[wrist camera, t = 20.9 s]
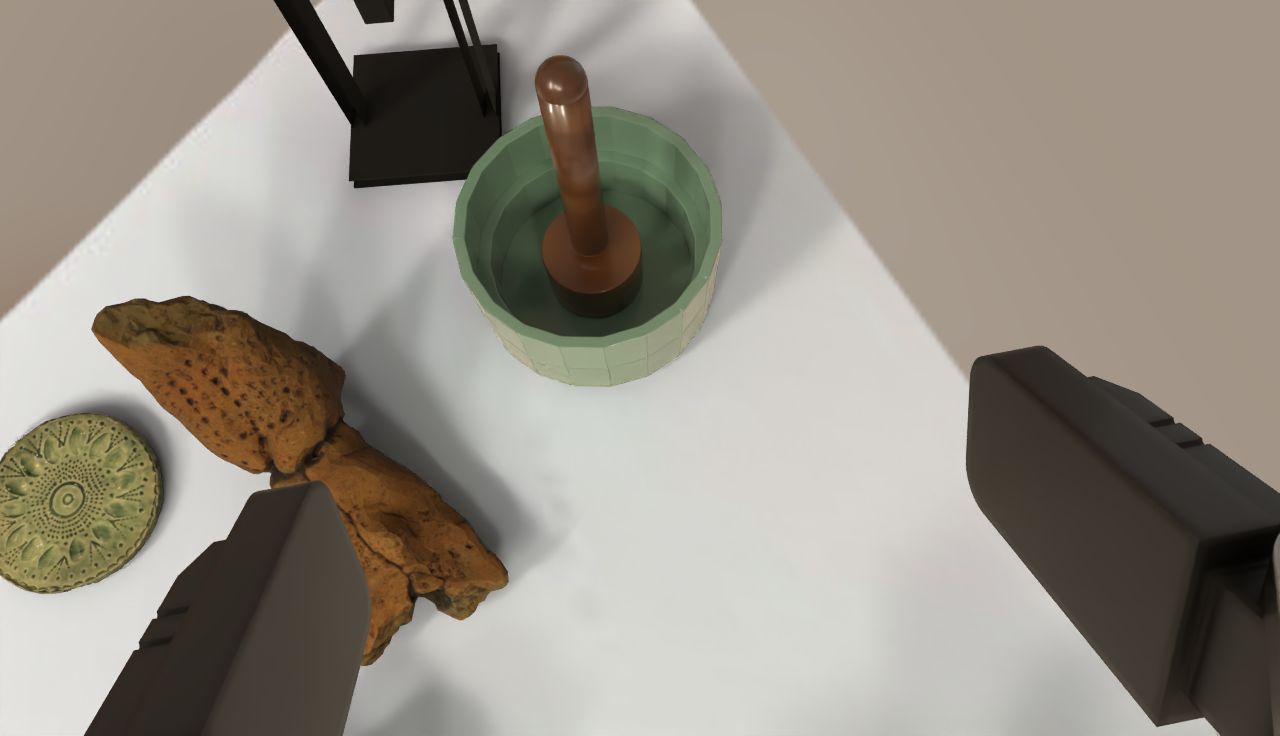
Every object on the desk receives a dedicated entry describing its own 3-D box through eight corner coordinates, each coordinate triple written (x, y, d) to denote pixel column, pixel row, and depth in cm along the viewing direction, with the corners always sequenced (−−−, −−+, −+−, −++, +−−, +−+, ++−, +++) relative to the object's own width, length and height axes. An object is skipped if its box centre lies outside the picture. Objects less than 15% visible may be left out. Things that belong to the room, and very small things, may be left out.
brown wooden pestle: (643, 233, 38) (634, 4, 24) (641, 319, 37) (631, 130, 23) (552, 232, 38) (489, 4, 24) (547, 318, 37) (477, 130, 23)
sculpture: (209, 221, 27) (375, 636, 23) (386, 290, 37) (522, 589, 33) (38, 343, 28) (169, 753, 25) (252, 378, 38) (369, 674, 35)
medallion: (200, 467, 36) (190, 464, 35) (83, 628, 34) (71, 629, 33) (65, 385, 37) (54, 380, 36) (-54, 536, 35) (-69, 534, 34)
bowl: (711, 180, 40) (720, 106, 34) (713, 391, 37) (723, 349, 31) (493, 178, 40) (465, 105, 34) (475, 388, 37) (441, 346, 31)
